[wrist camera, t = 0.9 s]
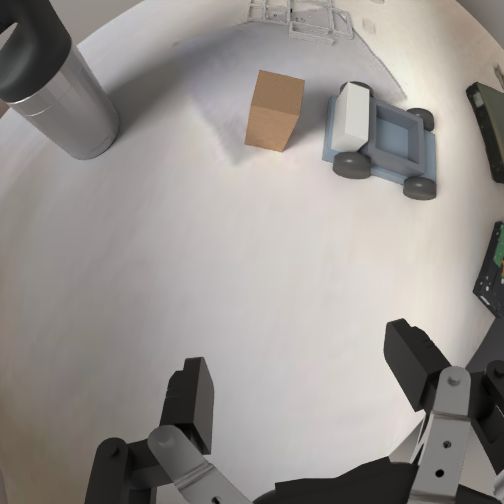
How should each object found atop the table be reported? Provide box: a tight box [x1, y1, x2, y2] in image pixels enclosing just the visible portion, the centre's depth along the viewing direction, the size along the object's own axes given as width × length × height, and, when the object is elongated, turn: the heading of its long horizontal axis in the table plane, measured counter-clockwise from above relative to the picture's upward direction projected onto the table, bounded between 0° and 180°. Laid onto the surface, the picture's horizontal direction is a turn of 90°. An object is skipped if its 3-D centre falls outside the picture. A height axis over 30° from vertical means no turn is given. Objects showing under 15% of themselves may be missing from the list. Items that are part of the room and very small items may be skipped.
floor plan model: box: [247, 0, 353, 46], centre depth 40 cm, size 19×25×2 cm
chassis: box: [322, 81, 437, 200], centre depth 36 cm, size 18×13×7 cm
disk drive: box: [473, 221, 504, 319], centre depth 39 cm, size 10×3×15 cm
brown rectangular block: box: [245, 70, 305, 152], centre depth 33 cm, size 5×5×10 cm
